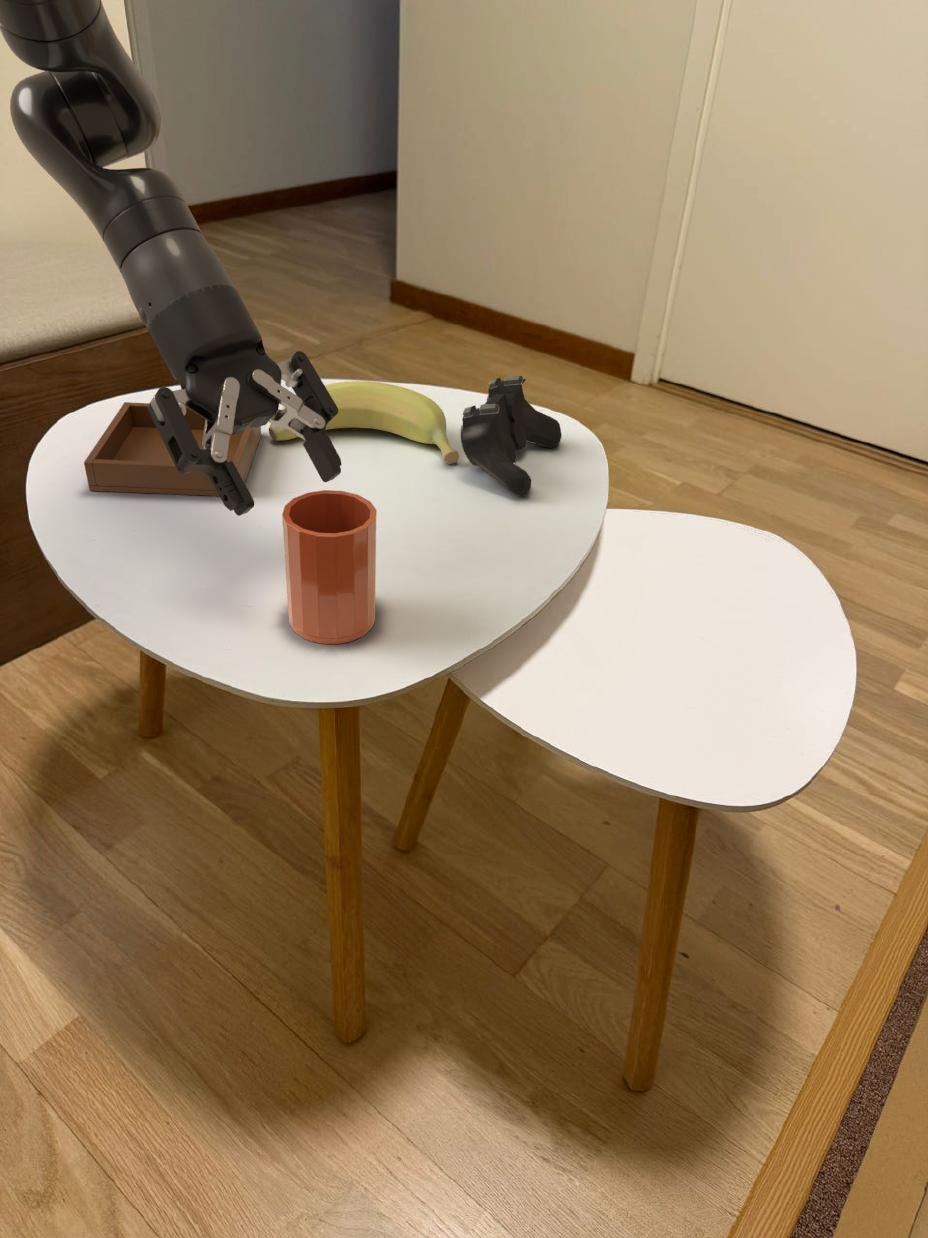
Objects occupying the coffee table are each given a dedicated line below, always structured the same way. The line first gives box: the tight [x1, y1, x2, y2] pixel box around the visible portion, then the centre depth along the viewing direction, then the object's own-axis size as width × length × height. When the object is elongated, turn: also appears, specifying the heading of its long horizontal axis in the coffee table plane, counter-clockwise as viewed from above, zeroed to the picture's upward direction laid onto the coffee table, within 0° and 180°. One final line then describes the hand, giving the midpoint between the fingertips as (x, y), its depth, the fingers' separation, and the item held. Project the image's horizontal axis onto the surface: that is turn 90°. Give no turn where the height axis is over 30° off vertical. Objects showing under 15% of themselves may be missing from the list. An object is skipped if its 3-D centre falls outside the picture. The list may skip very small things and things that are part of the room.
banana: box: [268, 380, 460, 465], centre depth 99 cm, size 14×6×20 cm
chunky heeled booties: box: [460, 375, 562, 498], centre depth 97 cm, size 16×7×10 cm, turn 161°
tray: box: [83, 401, 262, 497], centre depth 93 cm, size 15×15×3 cm
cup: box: [281, 489, 378, 645], centre depth 70 cm, size 7×7×10 cm
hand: (291, 493), depth 70 cm, fingers open, 8 cm apart
